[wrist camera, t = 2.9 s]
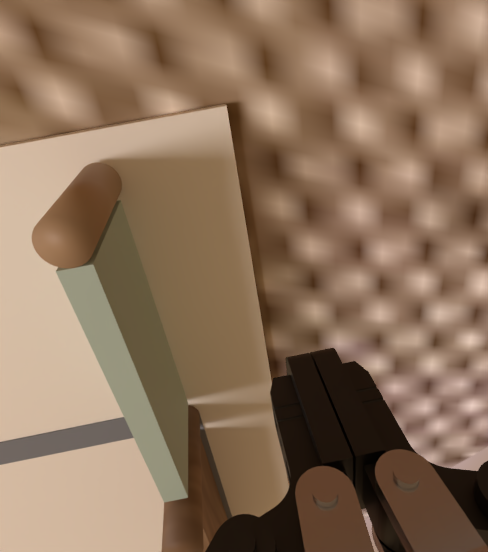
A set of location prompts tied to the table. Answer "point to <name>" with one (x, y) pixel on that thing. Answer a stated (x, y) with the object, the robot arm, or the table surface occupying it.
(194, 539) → the fence
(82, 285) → the hinged fence section
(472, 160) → the table surface
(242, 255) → the card
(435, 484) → the robot arm
